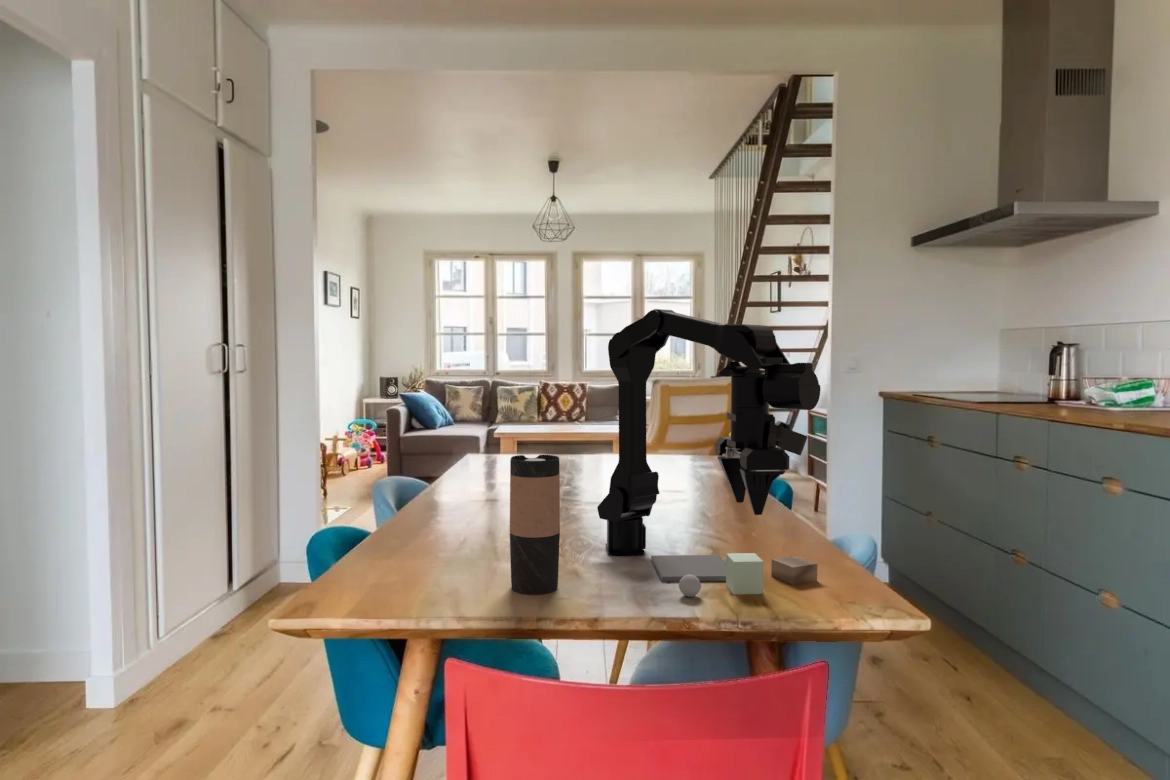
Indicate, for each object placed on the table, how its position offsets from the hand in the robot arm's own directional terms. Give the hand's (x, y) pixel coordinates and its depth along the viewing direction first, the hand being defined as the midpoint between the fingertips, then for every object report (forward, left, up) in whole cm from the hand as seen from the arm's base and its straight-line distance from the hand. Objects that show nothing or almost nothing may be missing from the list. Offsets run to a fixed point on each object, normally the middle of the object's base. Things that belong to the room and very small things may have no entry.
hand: (748, 508), depth 110 cm
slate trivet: (-7, +9, -12) cm, 17 cm away
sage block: (-1, -1, -12) cm, 12 cm away
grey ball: (-10, -4, -11) cm, 15 cm away
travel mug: (-33, +1, -12) cm, 35 cm away
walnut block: (+9, +4, -13) cm, 16 cm away
